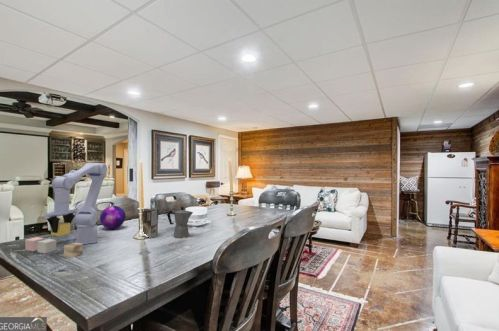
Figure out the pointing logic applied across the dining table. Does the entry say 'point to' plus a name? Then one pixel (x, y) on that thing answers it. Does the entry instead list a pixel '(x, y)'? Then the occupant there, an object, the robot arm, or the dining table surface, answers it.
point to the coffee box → (150, 222)
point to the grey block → (47, 246)
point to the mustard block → (62, 229)
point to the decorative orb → (112, 217)
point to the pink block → (32, 243)
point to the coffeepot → (180, 222)
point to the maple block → (73, 250)
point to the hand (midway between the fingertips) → (60, 231)
